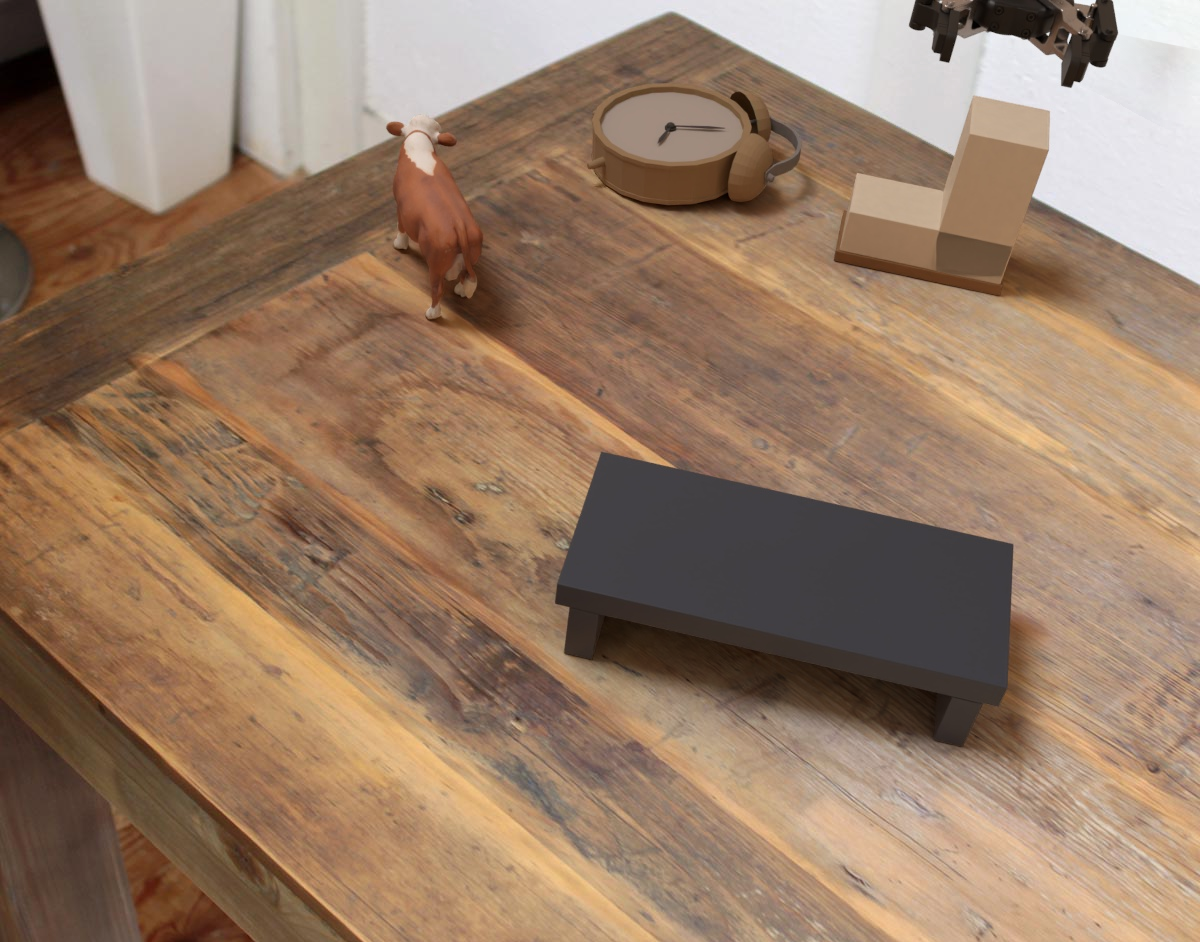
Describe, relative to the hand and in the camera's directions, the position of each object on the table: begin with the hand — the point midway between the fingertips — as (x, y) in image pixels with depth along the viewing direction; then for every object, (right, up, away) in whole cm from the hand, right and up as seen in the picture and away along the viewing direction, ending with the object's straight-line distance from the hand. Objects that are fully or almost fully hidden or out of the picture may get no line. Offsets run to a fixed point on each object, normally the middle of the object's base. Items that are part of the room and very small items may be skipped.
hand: (1009, 62), depth 102 cm
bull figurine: (-39, -16, -6) cm, 42 cm away
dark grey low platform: (-19, -38, -24) cm, 49 cm away
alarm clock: (-22, -6, +5) cm, 23 cm away
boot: (-6, -13, +1) cm, 15 cm away
